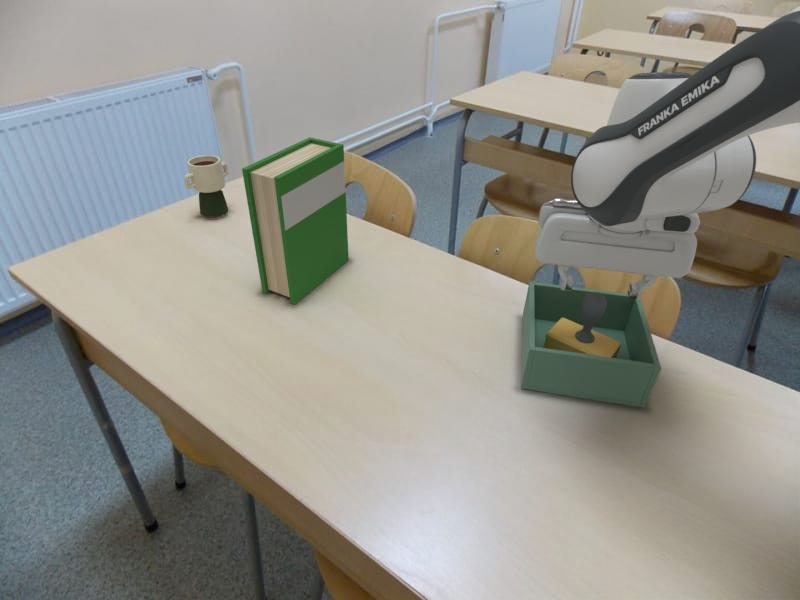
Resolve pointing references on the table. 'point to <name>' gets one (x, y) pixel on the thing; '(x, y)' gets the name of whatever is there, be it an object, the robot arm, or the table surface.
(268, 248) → the hardback book
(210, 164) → the character mug
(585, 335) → the rubber stamp
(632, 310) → the open box
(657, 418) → the table surface
